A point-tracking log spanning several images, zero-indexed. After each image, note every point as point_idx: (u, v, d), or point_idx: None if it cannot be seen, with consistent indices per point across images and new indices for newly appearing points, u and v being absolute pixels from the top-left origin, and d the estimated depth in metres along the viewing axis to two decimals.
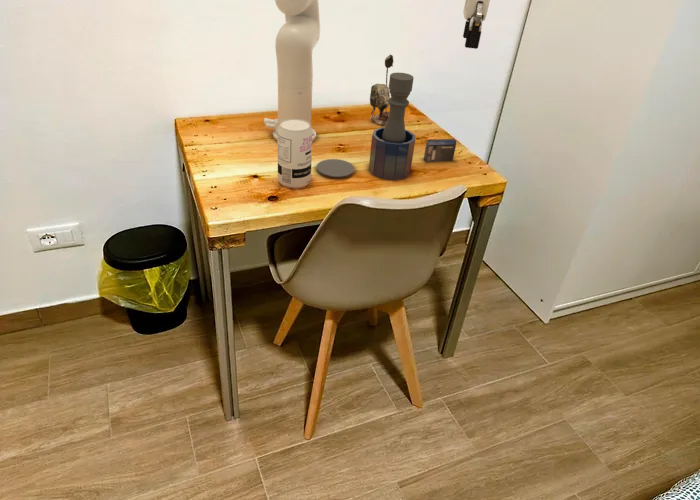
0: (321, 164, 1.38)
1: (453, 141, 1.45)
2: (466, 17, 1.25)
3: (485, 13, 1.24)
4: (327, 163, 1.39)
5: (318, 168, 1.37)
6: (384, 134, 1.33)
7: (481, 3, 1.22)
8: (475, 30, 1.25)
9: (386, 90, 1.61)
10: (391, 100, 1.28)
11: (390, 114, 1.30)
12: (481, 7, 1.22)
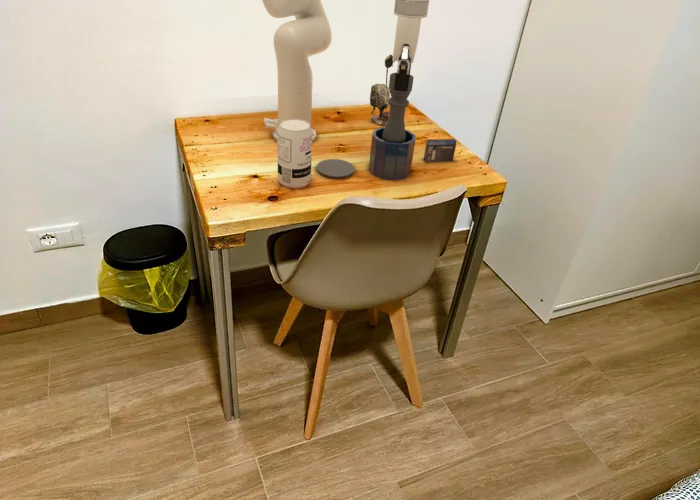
0: (321, 164, 1.38)
1: (453, 141, 1.45)
2: (393, 60, 1.19)
3: (412, 56, 1.18)
4: (327, 163, 1.39)
5: (318, 168, 1.37)
6: (384, 134, 1.33)
7: (407, 46, 1.17)
8: (402, 73, 1.19)
9: (386, 90, 1.61)
10: (391, 100, 1.28)
11: (390, 114, 1.30)
12: (407, 50, 1.16)
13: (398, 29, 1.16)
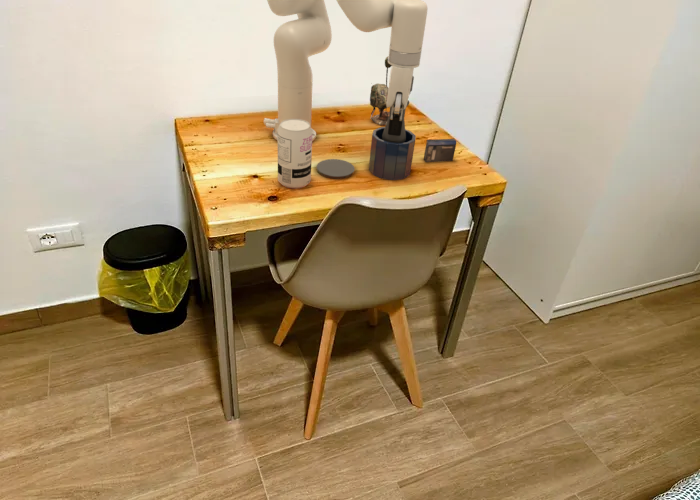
0: (321, 164, 1.38)
1: (453, 141, 1.45)
2: (387, 106, 1.26)
3: (405, 103, 1.24)
4: (327, 163, 1.39)
5: (318, 168, 1.37)
6: (384, 134, 1.33)
7: (400, 96, 1.24)
8: (396, 120, 1.28)
9: (386, 90, 1.61)
10: None
11: (390, 114, 1.31)
12: (399, 102, 1.24)
13: (392, 78, 1.22)
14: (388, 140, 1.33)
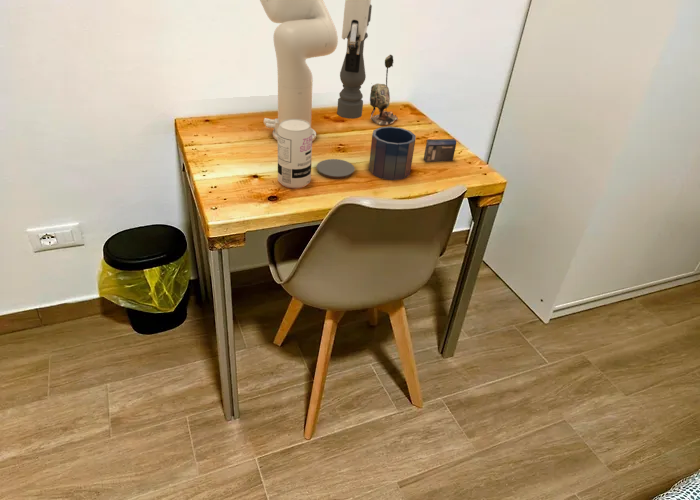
0: (321, 164, 1.38)
1: (453, 141, 1.45)
2: (342, 37, 1.15)
3: (362, 33, 1.14)
4: (327, 163, 1.39)
5: (318, 168, 1.37)
6: (342, 71, 1.23)
7: (356, 25, 1.13)
8: (353, 53, 1.17)
9: (386, 90, 1.61)
10: None
11: None
12: (355, 31, 1.13)
13: (346, 4, 1.11)
14: (346, 78, 1.22)
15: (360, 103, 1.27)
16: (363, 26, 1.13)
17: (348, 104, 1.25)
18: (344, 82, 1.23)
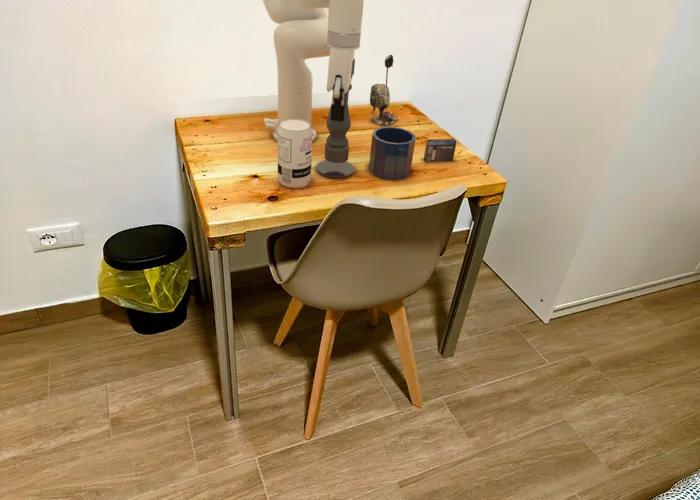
0: (321, 164, 1.38)
1: (453, 141, 1.45)
2: (327, 90, 1.21)
3: (345, 86, 1.20)
4: (327, 163, 1.39)
5: (318, 168, 1.37)
6: (328, 120, 1.29)
7: (339, 79, 1.19)
8: (337, 104, 1.24)
9: (386, 90, 1.61)
10: None
11: None
12: (339, 85, 1.19)
13: (330, 60, 1.18)
14: (331, 126, 1.28)
15: (346, 148, 1.33)
16: (346, 80, 1.19)
17: (334, 150, 1.32)
18: (330, 130, 1.29)
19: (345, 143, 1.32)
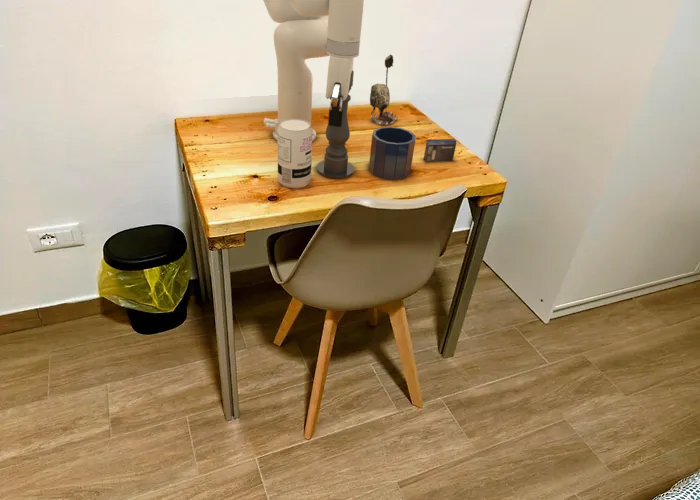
0: (321, 164, 1.38)
1: (453, 141, 1.45)
2: (326, 97, 1.23)
3: (344, 94, 1.21)
4: None
5: (318, 168, 1.37)
6: (327, 130, 1.31)
7: (338, 84, 1.20)
8: (335, 110, 1.23)
9: (386, 90, 1.61)
10: None
11: None
12: (338, 89, 1.19)
13: (329, 68, 1.19)
14: (331, 136, 1.30)
15: (345, 158, 1.34)
16: (345, 88, 1.21)
17: (334, 160, 1.33)
18: (329, 140, 1.31)
19: (344, 153, 1.33)
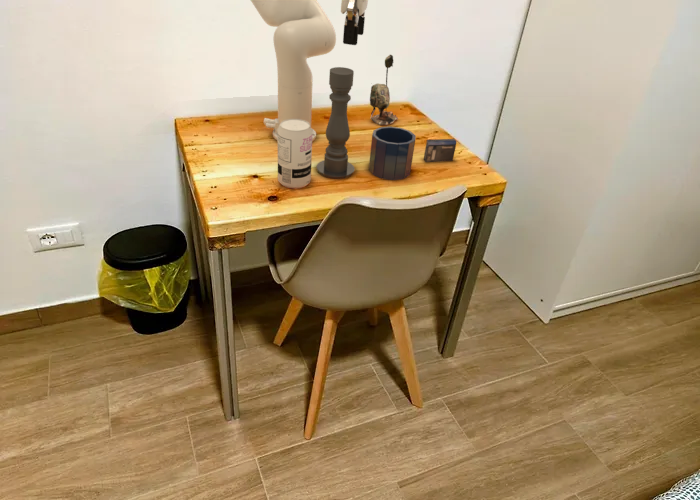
0: (321, 164, 1.38)
1: (453, 141, 1.45)
2: (341, 11, 1.16)
3: (360, 7, 1.15)
4: None
5: (318, 168, 1.37)
6: (327, 130, 1.31)
7: None
8: (350, 25, 1.16)
9: (386, 90, 1.61)
10: (332, 95, 1.25)
11: (332, 110, 1.28)
12: (353, 0, 1.13)
13: None
14: (331, 136, 1.30)
15: (345, 158, 1.34)
16: (362, 0, 1.14)
17: (334, 160, 1.33)
18: (329, 140, 1.31)
19: (344, 153, 1.33)
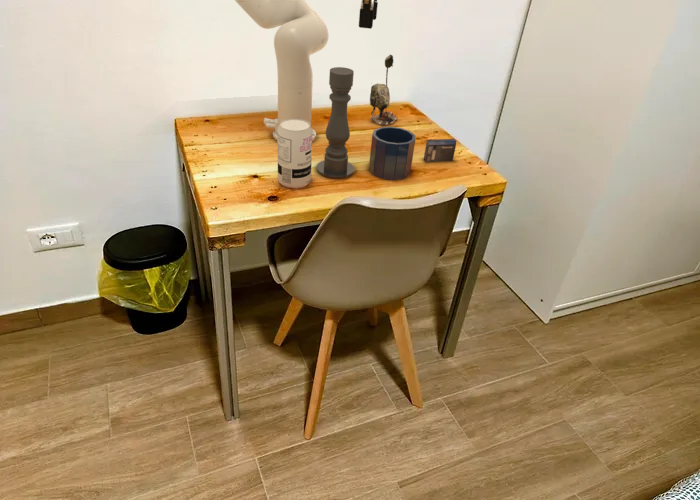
0: (321, 164, 1.38)
1: (453, 141, 1.45)
2: None
3: None
4: None
5: (318, 168, 1.37)
6: (327, 130, 1.31)
7: None
8: (366, 9, 1.20)
9: (386, 90, 1.61)
10: (332, 95, 1.25)
11: (332, 110, 1.28)
12: None
13: None
14: (331, 136, 1.30)
15: (345, 158, 1.34)
16: None
17: (334, 160, 1.33)
18: (329, 140, 1.31)
19: (344, 153, 1.33)
